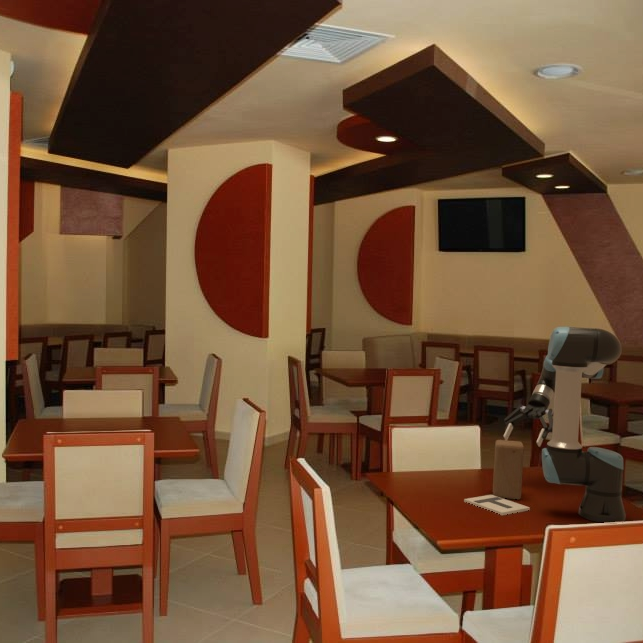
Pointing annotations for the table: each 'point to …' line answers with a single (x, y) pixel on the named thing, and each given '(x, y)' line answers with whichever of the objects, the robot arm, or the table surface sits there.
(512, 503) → the letter board
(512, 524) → the table surface
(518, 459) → the wooden block
